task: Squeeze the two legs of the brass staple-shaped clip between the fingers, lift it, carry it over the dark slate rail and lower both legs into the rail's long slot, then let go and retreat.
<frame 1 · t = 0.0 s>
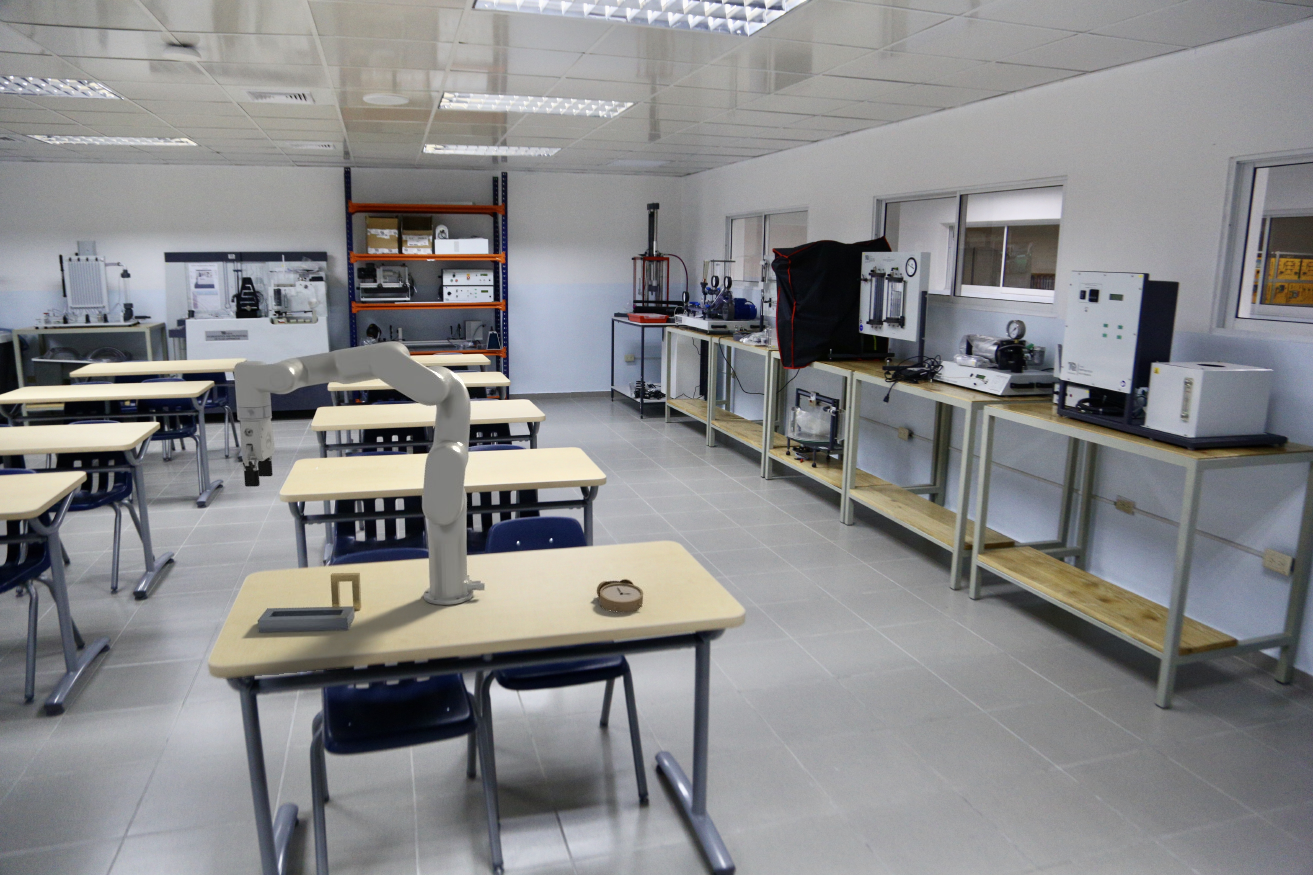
hand: (259, 481, 209), 31 cm above the table, tool pointing down, fingers open, 9 cm apart
rail: (307, 624, 201), on the table
alarm clock: (619, 602, 220), on the table
clip: (346, 609, 211), on the table
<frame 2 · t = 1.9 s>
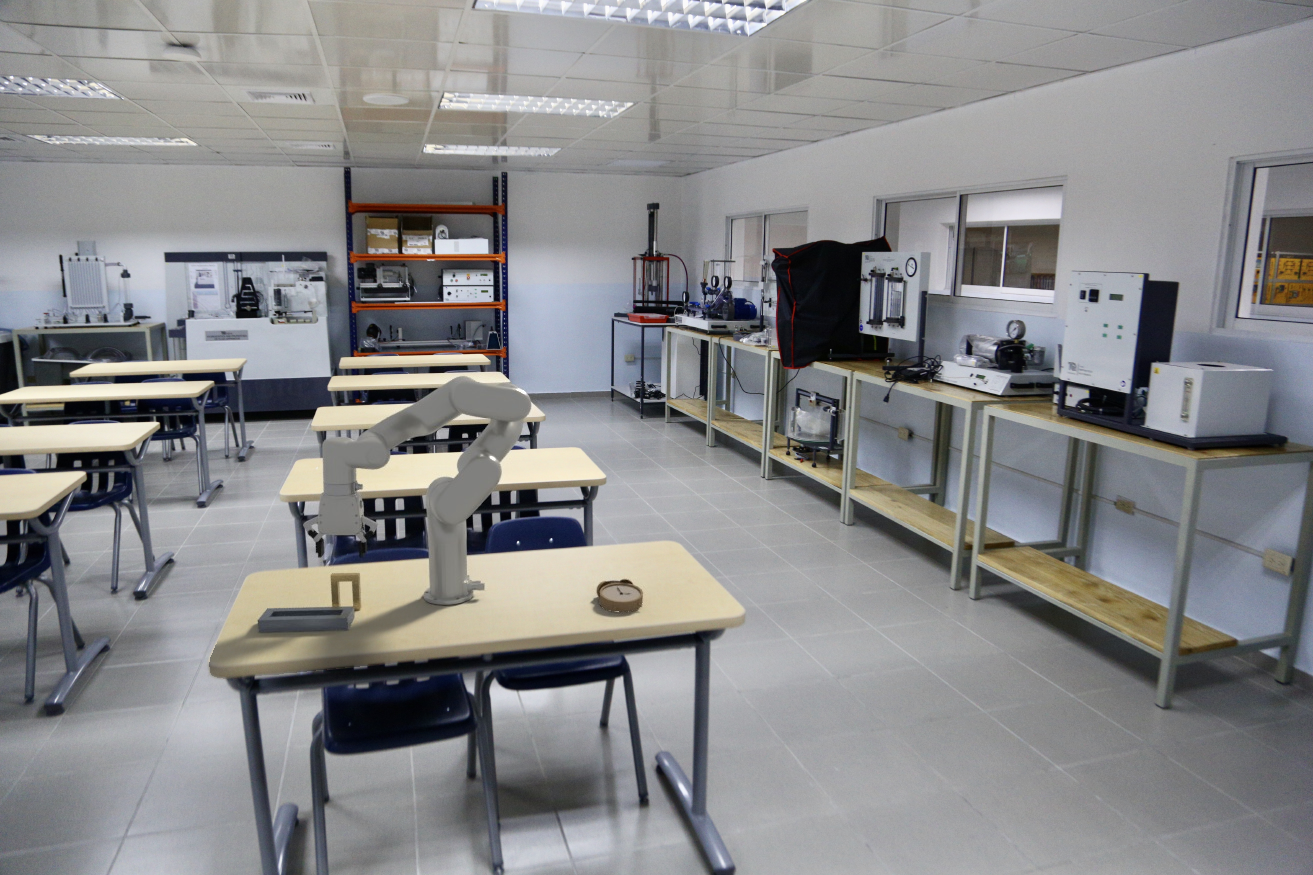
hand: (341, 555, 208), 14 cm above the table, tool pointing down, fingers open, 9 cm apart
nothing on the table moved.
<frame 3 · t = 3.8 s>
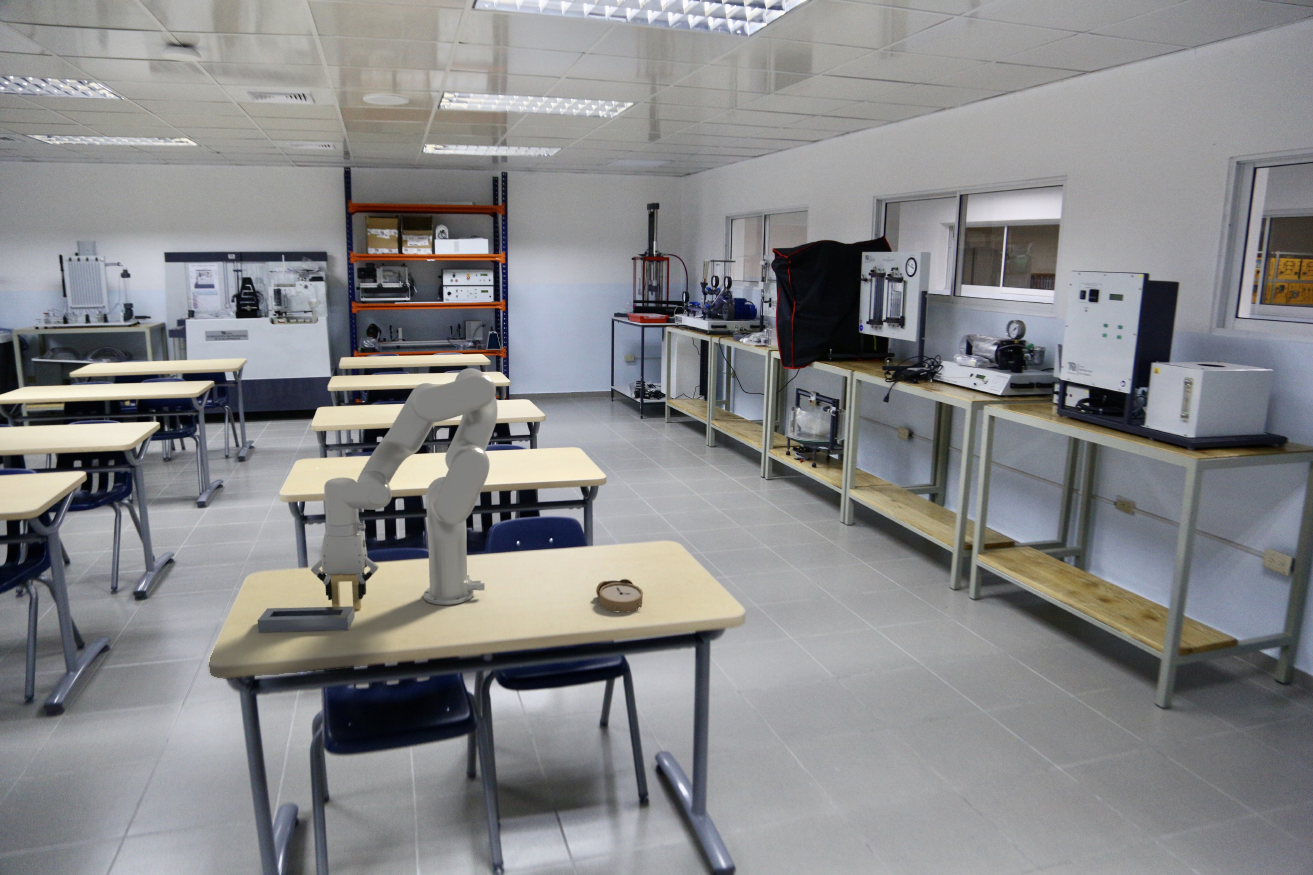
hand: (346, 596, 210), 3 cm above the table, tool pointing down, fingers closed on clip, 6 cm apart
clip: (346, 609, 211), on the table, touching gripper
everything else where it was.
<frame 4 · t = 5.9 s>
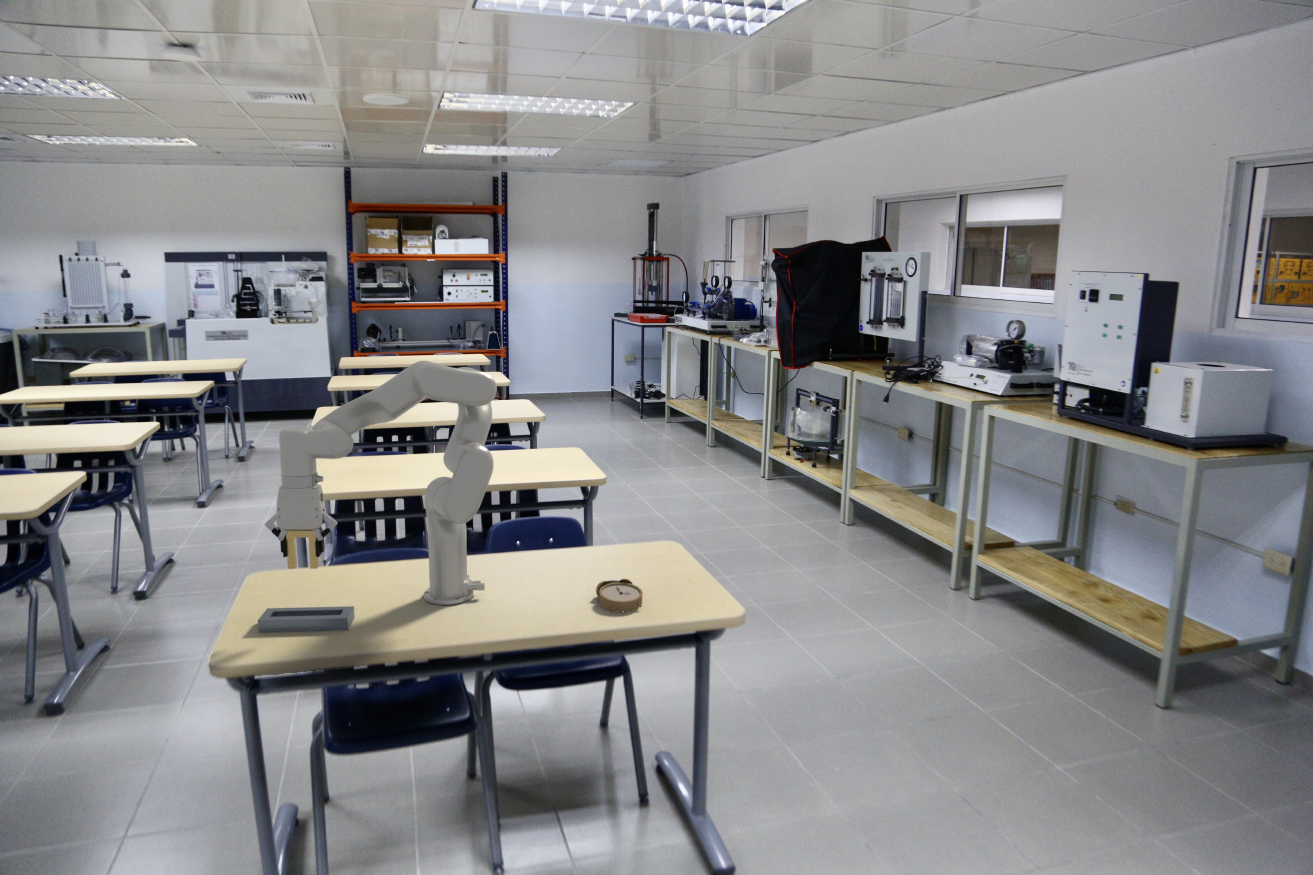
hand: (302, 554, 198), 18 cm above the table, tool pointing down, fingers closed on clip, 6 cm apart
clip: (303, 567, 198), point 14 cm above the table, touching gripper
everything else where it was.
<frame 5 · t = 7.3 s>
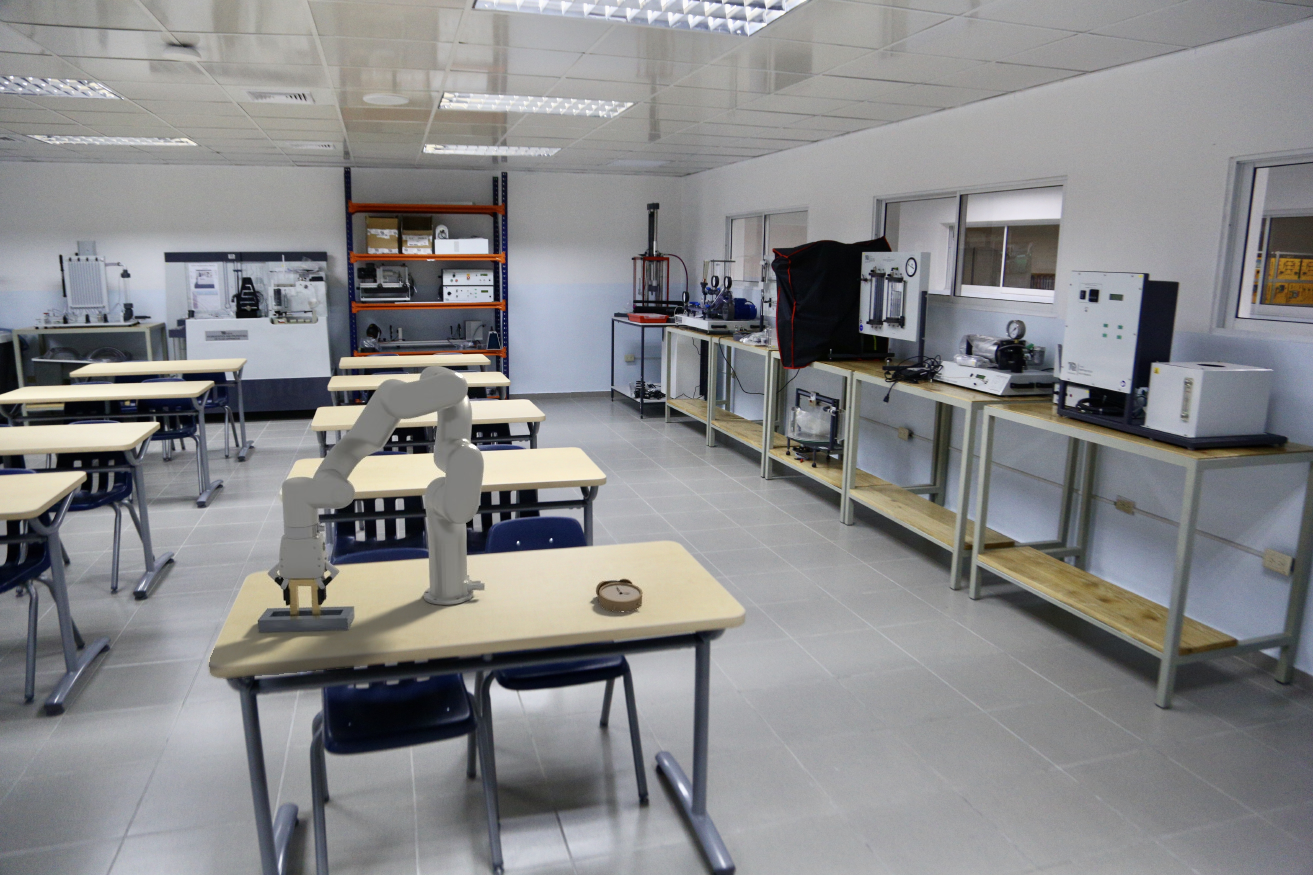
hand: (305, 602, 200), 6 cm above the table, tool pointing down, fingers closed on clip, 6 cm apart
clip: (305, 615, 200), point 3 cm above the table, touching gripper
everything else where it was.
when the fingers open (5 cm above the table, at t = 8.4 s): clip stays where it is, resting on rail.
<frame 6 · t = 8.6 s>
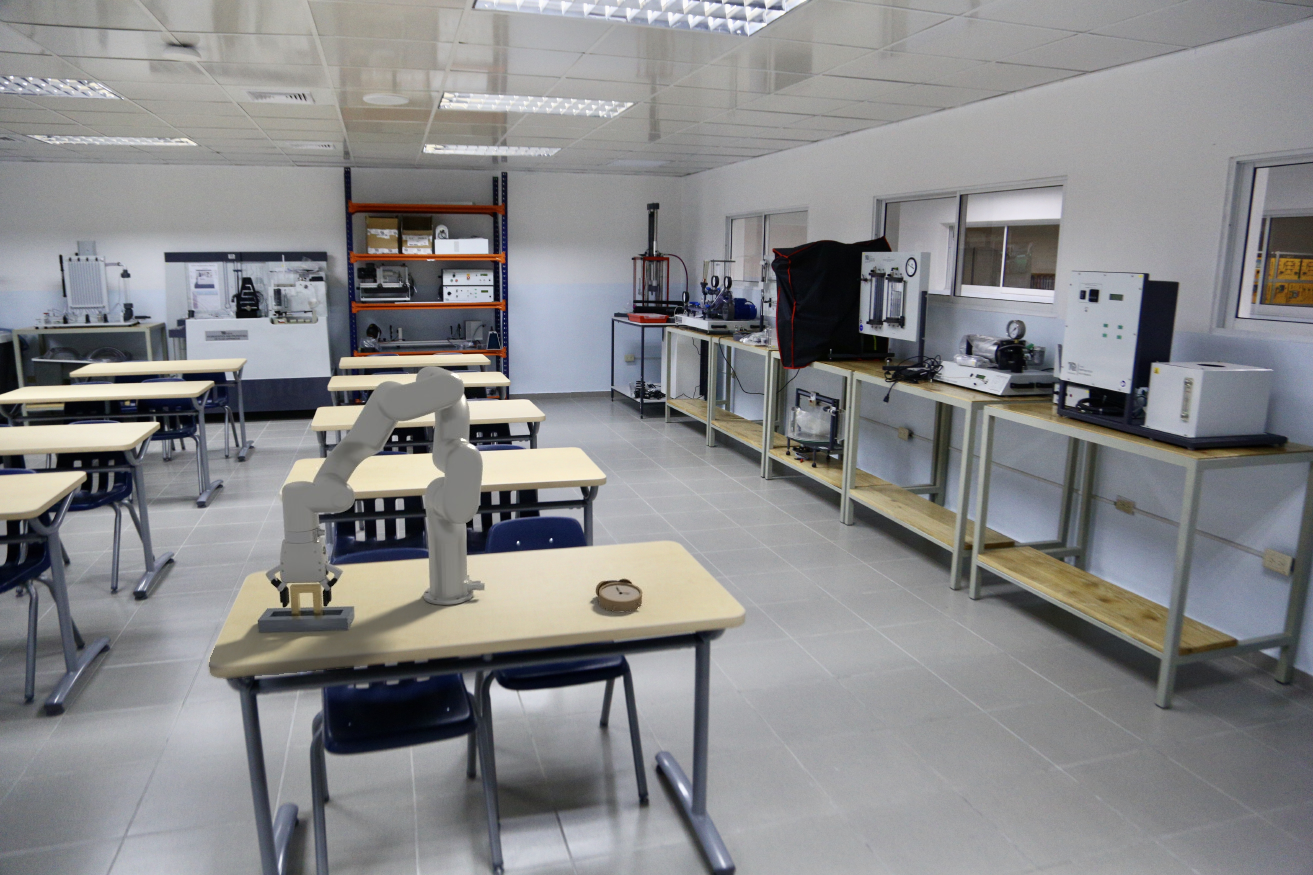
hand: (306, 604, 200), 5 cm above the table, tool pointing down, fingers open, 8 cm apart
clip: (307, 621, 201), point 1 cm above the table, touching rail
everything else where it was.
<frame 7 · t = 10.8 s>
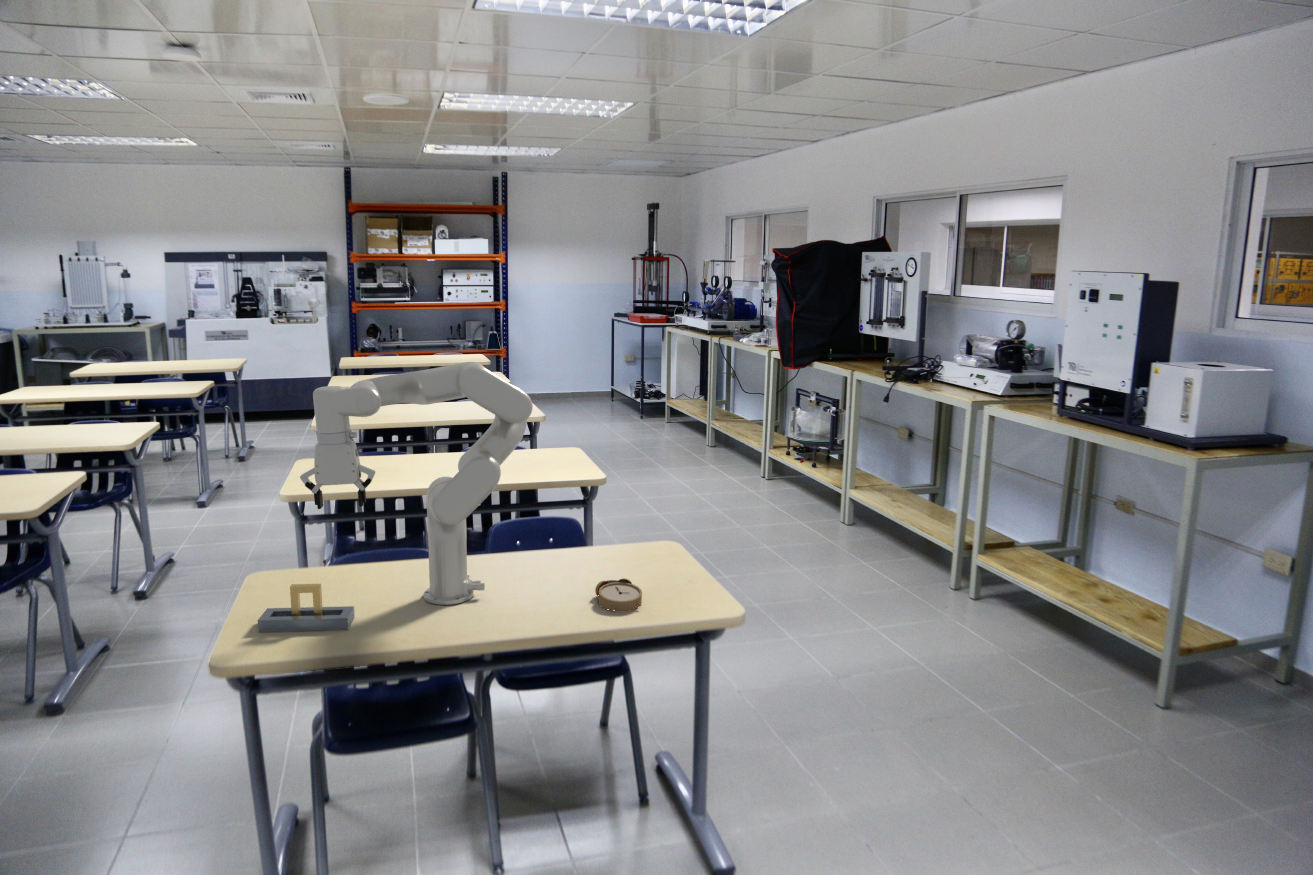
hand: (341, 506, 207), 26 cm above the table, tool pointing down, fingers open, 9 cm apart
nothing on the table moved.
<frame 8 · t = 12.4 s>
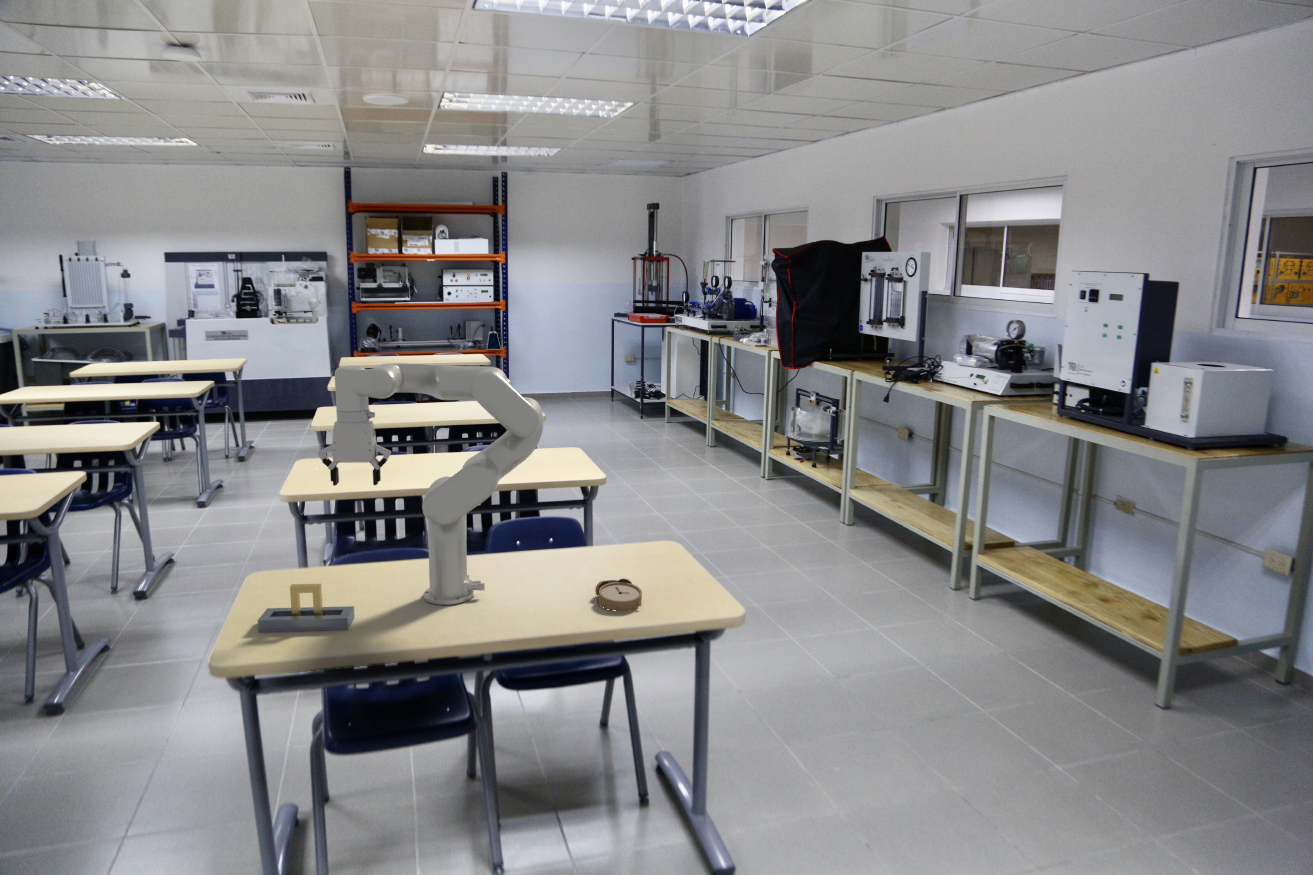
hand: (356, 484, 212), 30 cm above the table, tool pointing down, fingers open, 9 cm apart
nothing on the table moved.
at the end: clip inside the target area on the rail (0.1 cm from its centre), point 0.8 cm above the rail's base; clip tilted 0°; the gripper is holding nothing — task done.
